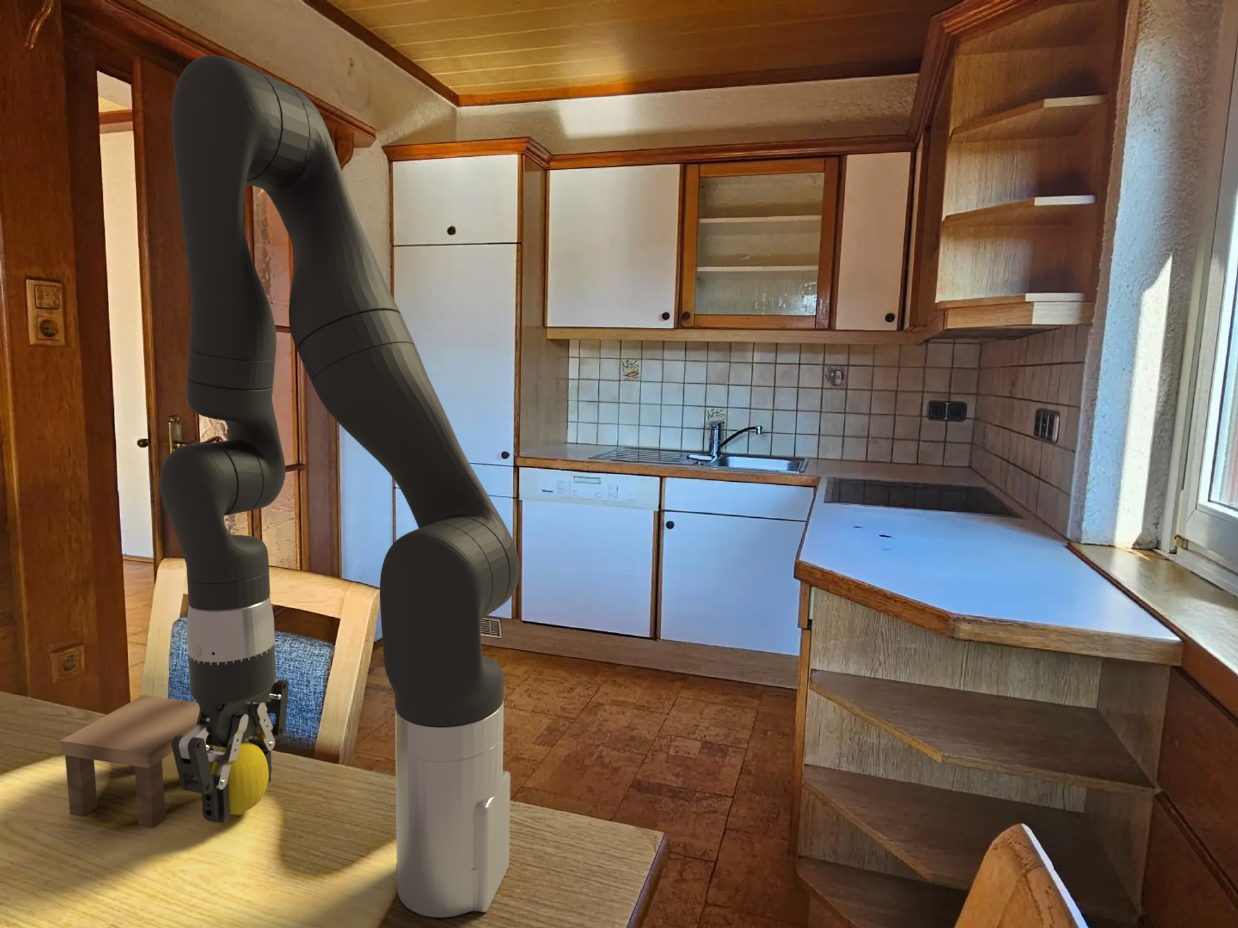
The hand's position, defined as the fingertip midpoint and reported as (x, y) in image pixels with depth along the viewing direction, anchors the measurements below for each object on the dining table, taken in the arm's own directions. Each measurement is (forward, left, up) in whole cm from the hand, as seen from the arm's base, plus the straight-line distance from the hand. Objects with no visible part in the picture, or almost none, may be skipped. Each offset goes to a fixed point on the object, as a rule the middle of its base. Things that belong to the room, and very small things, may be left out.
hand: (239, 800), depth 74 cm
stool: (+11, -1, -1) cm, 12 cm away
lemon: (0, 0, -2) cm, 2 cm away
